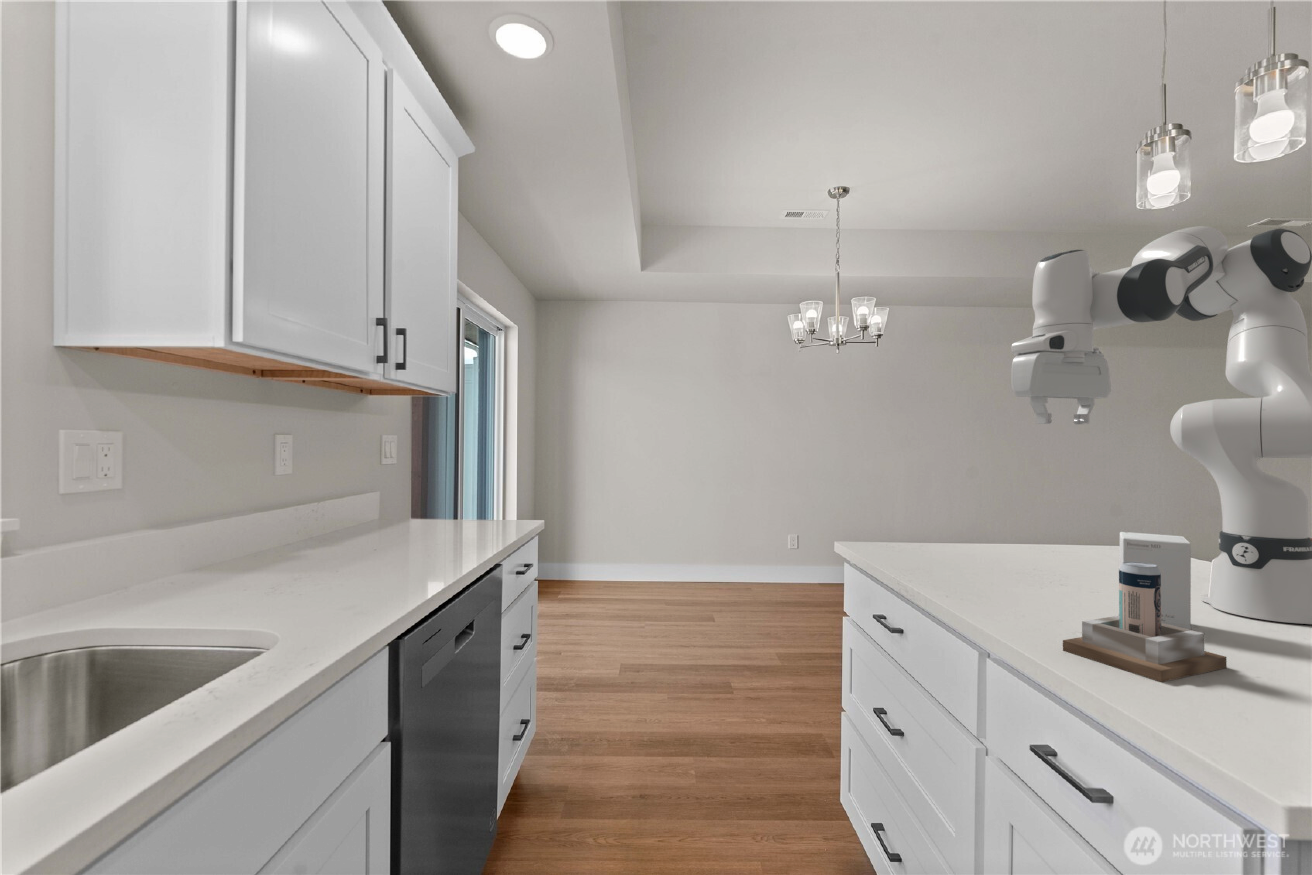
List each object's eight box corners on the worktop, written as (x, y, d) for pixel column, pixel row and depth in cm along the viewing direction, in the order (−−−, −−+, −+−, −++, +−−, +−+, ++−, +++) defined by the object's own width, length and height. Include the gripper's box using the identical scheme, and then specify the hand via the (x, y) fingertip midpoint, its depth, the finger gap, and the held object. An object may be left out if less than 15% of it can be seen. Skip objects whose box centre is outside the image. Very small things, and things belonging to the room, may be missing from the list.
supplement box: (1121, 626, 103) (1120, 537, 103) (1118, 613, 110) (1118, 530, 111) (1192, 636, 98) (1191, 542, 98) (1184, 622, 105) (1184, 535, 105)
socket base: (1125, 639, 96) (1124, 610, 96) (1226, 667, 84) (1226, 634, 84) (1062, 650, 91) (1062, 619, 91) (1161, 682, 79) (1161, 647, 79)
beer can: (1169, 654, 85) (1169, 567, 85) (1131, 652, 86) (1131, 566, 86) (1148, 643, 90) (1147, 561, 90) (1112, 641, 91) (1111, 560, 91)
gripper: (1084, 350, 113) (1085, 425, 113) (1004, 344, 106) (1004, 424, 106) (1121, 345, 108) (1121, 424, 107) (1038, 338, 100) (1038, 423, 100)
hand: (1062, 424), depth 107 cm, fingers open, 8 cm apart
